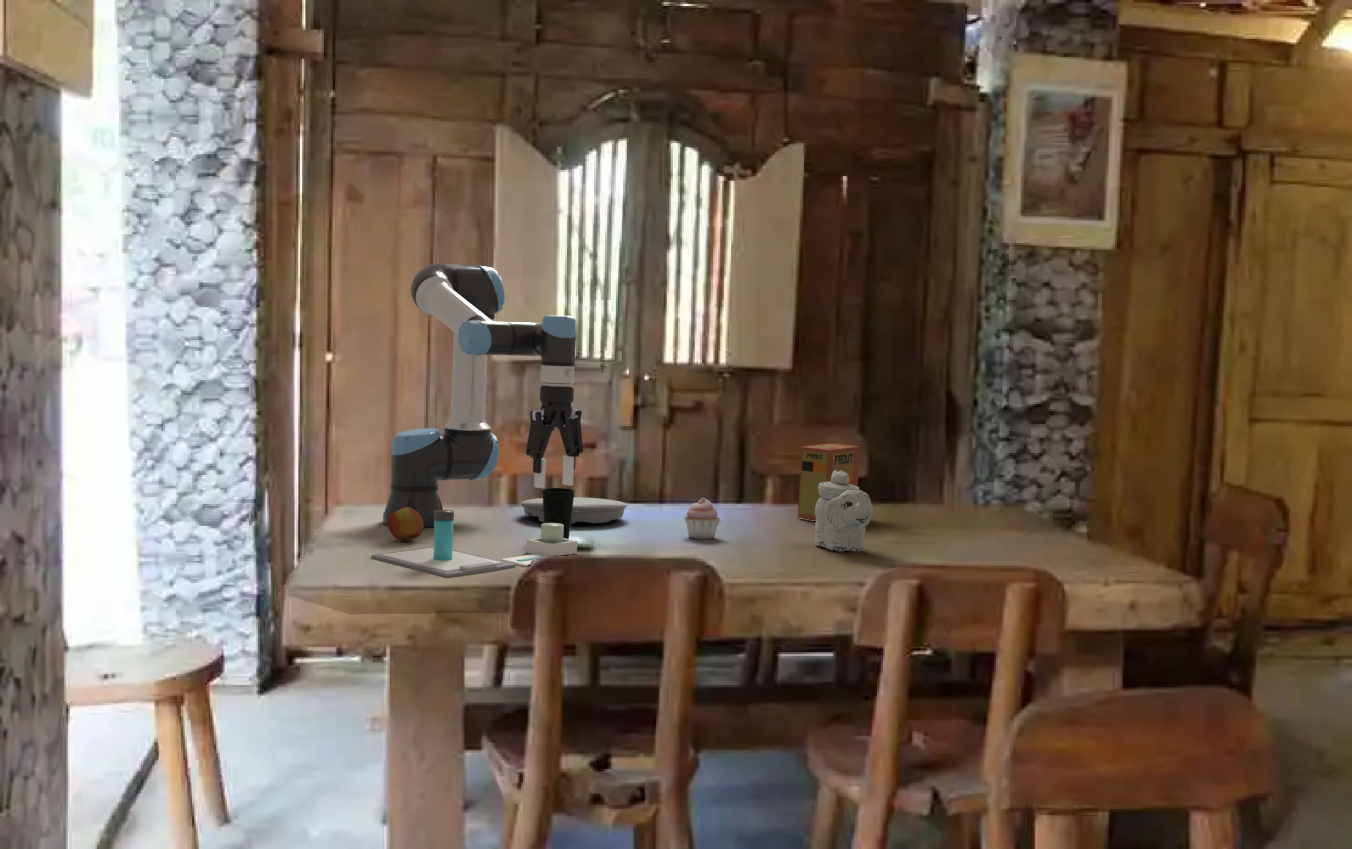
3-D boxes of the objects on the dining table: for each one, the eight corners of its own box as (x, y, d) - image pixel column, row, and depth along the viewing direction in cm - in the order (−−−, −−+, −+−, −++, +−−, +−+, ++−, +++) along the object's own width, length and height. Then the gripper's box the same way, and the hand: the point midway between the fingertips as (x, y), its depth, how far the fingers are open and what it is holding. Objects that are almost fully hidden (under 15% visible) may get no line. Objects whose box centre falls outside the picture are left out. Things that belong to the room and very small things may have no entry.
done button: (536, 541, 298) (536, 524, 298) (552, 538, 302) (552, 522, 302) (551, 544, 295) (552, 527, 295) (567, 541, 299) (568, 525, 298)
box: (827, 513, 378) (831, 443, 377) (855, 517, 373) (859, 446, 372) (797, 519, 365) (801, 446, 363) (826, 523, 360) (830, 450, 358)
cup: (567, 543, 312) (569, 493, 311) (536, 541, 313) (538, 490, 312) (576, 538, 319) (578, 489, 318) (546, 536, 321) (547, 486, 320)
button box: (526, 552, 298) (526, 539, 298) (552, 548, 304) (552, 535, 304) (550, 558, 293) (551, 544, 293) (576, 554, 299) (577, 540, 299)
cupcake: (674, 536, 328) (676, 496, 328) (699, 533, 335) (701, 493, 334) (702, 542, 322) (704, 501, 321) (727, 538, 329) (729, 498, 328)
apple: (409, 537, 312) (410, 503, 311) (429, 542, 306) (429, 508, 306) (381, 540, 307) (382, 505, 306) (400, 545, 301) (401, 510, 300)
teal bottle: (428, 558, 283) (429, 510, 282) (444, 556, 286) (445, 509, 285) (441, 560, 280) (442, 512, 279) (456, 558, 283) (458, 511, 283)
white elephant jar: (867, 558, 309) (871, 478, 308) (803, 552, 314) (807, 473, 312) (878, 547, 325) (882, 470, 323) (817, 541, 329) (821, 466, 328)
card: (500, 560, 288) (500, 558, 288) (535, 555, 295) (535, 553, 295) (525, 566, 282) (525, 563, 282) (560, 561, 290) (560, 558, 290)
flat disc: (647, 520, 353) (648, 504, 352) (585, 532, 329) (585, 514, 329) (563, 510, 368) (563, 494, 367) (497, 521, 344) (498, 504, 344)
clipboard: (371, 557, 285) (371, 551, 285) (438, 548, 299) (438, 543, 298) (448, 577, 268) (448, 570, 268) (515, 566, 281) (515, 560, 281)
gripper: (533, 386, 285) (530, 491, 287) (602, 385, 301) (598, 485, 303) (510, 384, 290) (507, 487, 292) (578, 383, 306) (575, 481, 308)
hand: (553, 486), depth 298 cm, fingers open, 8 cm apart
